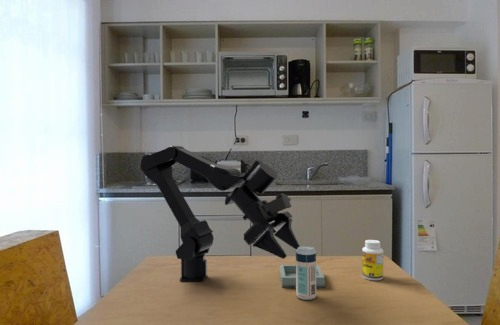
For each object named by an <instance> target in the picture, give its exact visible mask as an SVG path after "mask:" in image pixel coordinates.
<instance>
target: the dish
mask: <svg viewBox="0 0 500 325" xmlns="http://www.w3.org/2000/svg"><path fill="white" fill-rule="evenodd" d="M279 275H280V284H281V288H296V264H280V265H279ZM325 285H326V280H325V275H324V274H323V271H322V270H321V268H320V265H319V264H316V289H317V288H325V287H326V286H325Z"/></svg>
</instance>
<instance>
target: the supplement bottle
mask: <svg viewBox="0 0 500 325" xmlns="http://www.w3.org/2000/svg"><path fill="white" fill-rule="evenodd" d="M361 250H362V251H361V252H362V253H361V258H362V260H361V261H362V262H361V264H362V265H361V266H362V267H361V273H362V274H361V275H362V277H363V278H364V279H365V280H369V281H381V280H382V279H384V250H383V248H382V247H381V241H380V240H376V239H365V241H364V247H362V249H361Z"/></svg>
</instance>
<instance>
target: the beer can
mask: <svg viewBox="0 0 500 325" xmlns="http://www.w3.org/2000/svg"><path fill="white" fill-rule="evenodd" d="M295 265H296V287H295V291H296V292H295V296H296V297H297V298H298V299H300V300H301V301H302V300H303V301H311V300H314V299H315V298H316V297H317V288H316V265H317V251H316V249H315V247H314V246H310V245H299V247H298V248H297V250H296V249H295Z"/></svg>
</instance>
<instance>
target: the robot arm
mask: <svg viewBox="0 0 500 325" xmlns="http://www.w3.org/2000/svg"><path fill="white" fill-rule="evenodd" d="M176 164H180V165H182V166H184V167H186V168H188V169H190V170H192V171H194V172H196V173H197V174H199V175H201V176H203V177H204V178H205V179H207V181H208V183H210V184H211V185H212V186H213V187H214V188H216V189H217V190H218V191H221V192H223V191H228V190H232V192H230V193H227V194H225V199H224V205H225V206H227V205H232V204H235V207H236V206H237V208H238V209H239V210H240V212H242V214H243V215H244V216H242V219H243V220H244V221H249V222H250V223H251V226H250V227H249V228H248V229H247V230H246V231H245V232H244V234H243V241H244V242H245V243H246V245H247V246H251V245H252V247H254V248H258V249H260V250H262V251H265V252H267V253H270V254H271V255H274V256H277V257H278V258H279V259H282V260H283V259H286V258H287V257H288V256H287V254H286V253H285V252H286V251H284V249H283V248H282V246H281V245H280V243H279V242H278V240H279V239H280V241H283V242H284V243H286V244H287V245H288V246H290V247H292V248H293V249H295V251H296V250H297V248H298V247H299V246H300V244H299V242H298V240H297V237H296V235H295V234H294V232H293V229H292V222H293V215H292V214H291V213H290V212H289V211H288V210H287V209H289V208H291V207H292V205H291V200H292V199H291V198H290V197H289V196H288V195H287V194H285V193H283V192H282V193H280V194H278V195H276V196H275V199H273V200H270V201H268V200H267V199H266V200H265V199H264V200H262V199H261V198H260V197H259V196H258V195H257V194H264V193H265V191H266V190H267V189H268V188H270V186H271V185H272V184H273V183H274V182H275V181H276V180H277V178H278V174H277V173H276V171H275V170H274V169H273V167H270V166H269V165H267V164H266V163H264V162H263V161H262V160H261V159H260V160H258V159H257V160H255V161H254V162H253V163H252V165H251V167H250V168H249V170H247V171H246V172H241V171H240V170H239V168H235V167H232V166H228V165H224V164H223V165H222V164H218V163H214V162H212V161H210V160H208V159H206V158H205V157H202V156H200V155H198V154H196V153H195V152H192V151H191V150H188V149H186V148H184V147H183V146H181V145H169V146H168V147H167V148H165V149H162V150H159V151H156V152H154V153H149V154H145V155H143V156H142V157H141V161H140V164H139V167H140V168H139V169H140V170H141V171H142V173H143V175H144V176H146V178H147V179H148V180H149V181H151V182H153V184H155V185H156V186H157V188H158V189H159V191H160V193H161V195H162V197H163V198H164V199H165V203H166V204H167V206H168V207H169V209H170V211H171V212H172V215H173V216H174V218H175V220H176V221H177V223H178V224H179V227H180V240H181V244H180V245H179V247H177V249H176V250H175V255H176V258H177V259H178V260H181V261H180V267H181V268H180V275H181V277H180V278H179V282H203V281H204V280H205V278H206V277H207V275H208V260H207V259H206V254H208V253H209V251H210V249H211V247H212V245H213V244H214V240H215V239H214V234H213V233H214V231H213V230H212V229H211V228H210V226H209V223H208V221H207V220H206V219H204V220H199V219H198V218H197V217H196V216H195V214H194V212H193V211H192V208H191V207H190V206H189V203H188V202H187V201H186V199H185V197H184V195H183V192H181V190H180V188H179V187H178V185H177V183H176V181H175V180H174V178H173V166H175V165H176ZM240 185H241V186H240ZM285 210H287V211H285ZM275 237H276V238H278V240H277V239H276V238H275Z"/></svg>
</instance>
